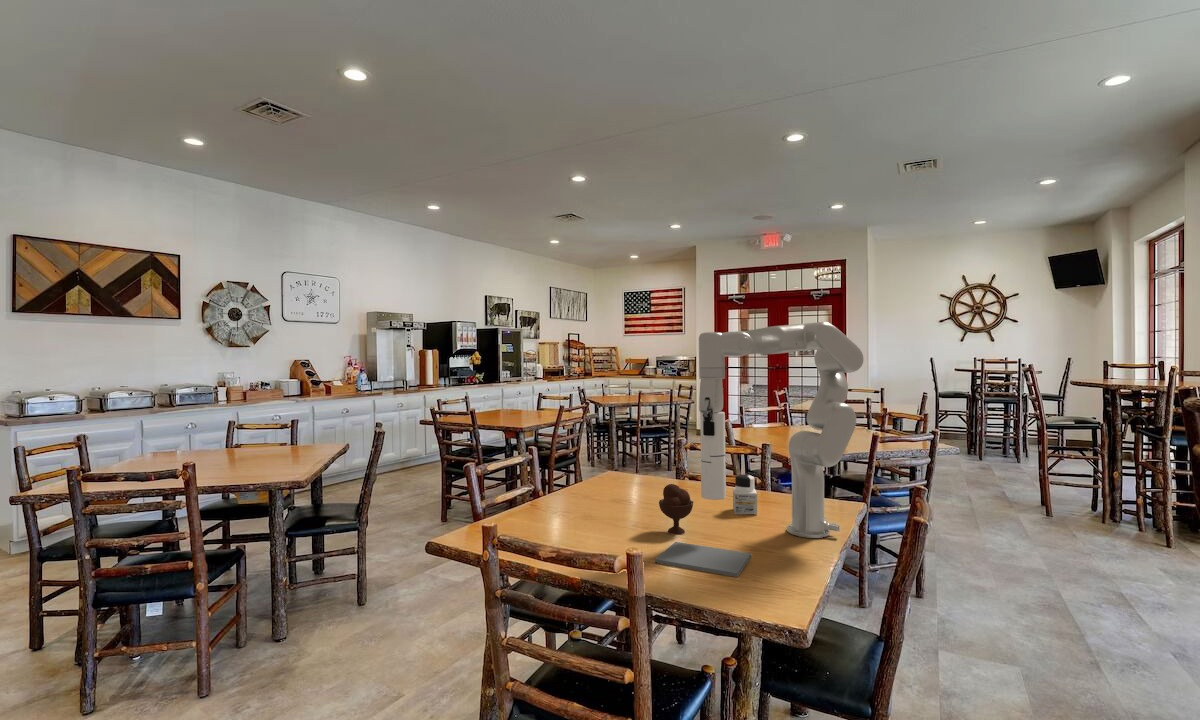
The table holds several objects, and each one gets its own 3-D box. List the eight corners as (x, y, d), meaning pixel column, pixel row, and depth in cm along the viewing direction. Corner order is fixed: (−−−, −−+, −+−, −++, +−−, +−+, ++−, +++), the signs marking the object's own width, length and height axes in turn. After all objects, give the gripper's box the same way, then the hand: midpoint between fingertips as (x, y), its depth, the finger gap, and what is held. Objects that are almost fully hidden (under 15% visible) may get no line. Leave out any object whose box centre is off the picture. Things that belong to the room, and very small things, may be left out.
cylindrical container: (726, 500, 163) (725, 413, 163) (701, 499, 164) (699, 413, 164) (725, 494, 170) (724, 411, 170) (701, 493, 171) (700, 411, 171)
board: (751, 557, 155) (751, 553, 155) (737, 577, 141) (737, 573, 141) (675, 545, 165) (675, 541, 165) (655, 562, 151) (655, 559, 151)
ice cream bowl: (670, 539, 170) (670, 489, 170) (652, 529, 180) (652, 482, 180) (700, 534, 174) (700, 486, 174) (681, 525, 185) (681, 479, 185)
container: (734, 514, 197) (734, 477, 197) (733, 508, 205) (733, 472, 205) (757, 515, 196) (757, 478, 196) (755, 509, 203) (754, 473, 203)
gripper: (708, 373, 176) (708, 429, 176) (690, 375, 161) (691, 437, 161) (731, 373, 173) (732, 430, 173) (716, 375, 157) (717, 438, 157)
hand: (712, 433), depth 167 cm, fingers closed on cylindrical container, 7 cm apart
